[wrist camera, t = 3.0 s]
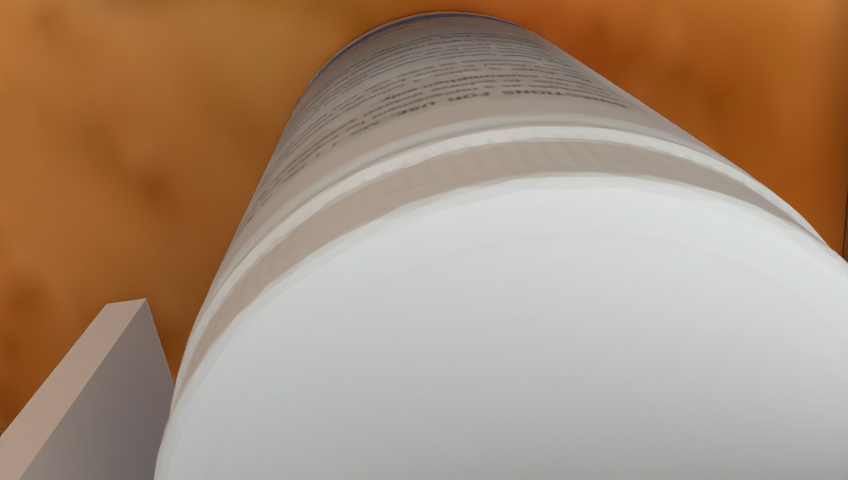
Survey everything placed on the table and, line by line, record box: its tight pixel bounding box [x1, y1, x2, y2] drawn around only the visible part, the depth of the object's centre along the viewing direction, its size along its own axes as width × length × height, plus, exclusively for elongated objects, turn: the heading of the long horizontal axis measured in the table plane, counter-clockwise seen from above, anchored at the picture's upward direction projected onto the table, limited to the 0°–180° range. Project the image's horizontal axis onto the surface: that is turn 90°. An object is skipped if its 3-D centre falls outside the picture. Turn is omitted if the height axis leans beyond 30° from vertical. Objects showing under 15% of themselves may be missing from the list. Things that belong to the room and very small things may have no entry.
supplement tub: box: [154, 11, 848, 480], centre depth 15 cm, size 10×10×15 cm
